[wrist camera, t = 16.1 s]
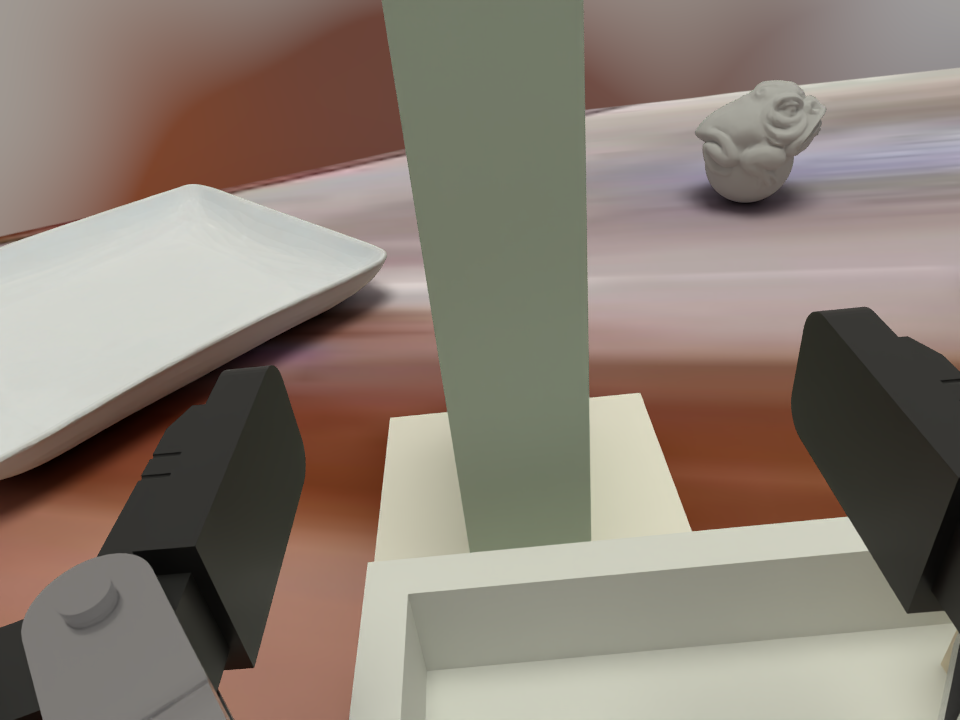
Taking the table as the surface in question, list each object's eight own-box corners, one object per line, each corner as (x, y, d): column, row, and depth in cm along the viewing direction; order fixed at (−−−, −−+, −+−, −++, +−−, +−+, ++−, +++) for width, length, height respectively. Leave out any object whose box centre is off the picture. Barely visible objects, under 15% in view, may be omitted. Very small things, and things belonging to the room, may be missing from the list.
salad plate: (407, 301, 38) (397, 243, 36) (-13, 547, 26) (-62, 479, 24) (208, 222, 51) (193, 176, 49) (-138, 362, 38) (-177, 308, 37)
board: (564, 425, 27) (544, -63, 18) (591, 575, 21) (582, -35, 12) (472, 433, 27) (407, -47, 18) (475, 584, 21) (379, -13, 12)
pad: (639, 404, 28) (640, 392, 28) (718, 621, 20) (720, 607, 20) (392, 429, 29) (390, 418, 28) (369, 652, 20) (365, 640, 20)
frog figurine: (812, 221, 40) (835, 95, 36) (686, 217, 42) (694, 98, 39) (807, 182, 45) (827, 67, 41) (693, 180, 47) (701, 70, 43)
